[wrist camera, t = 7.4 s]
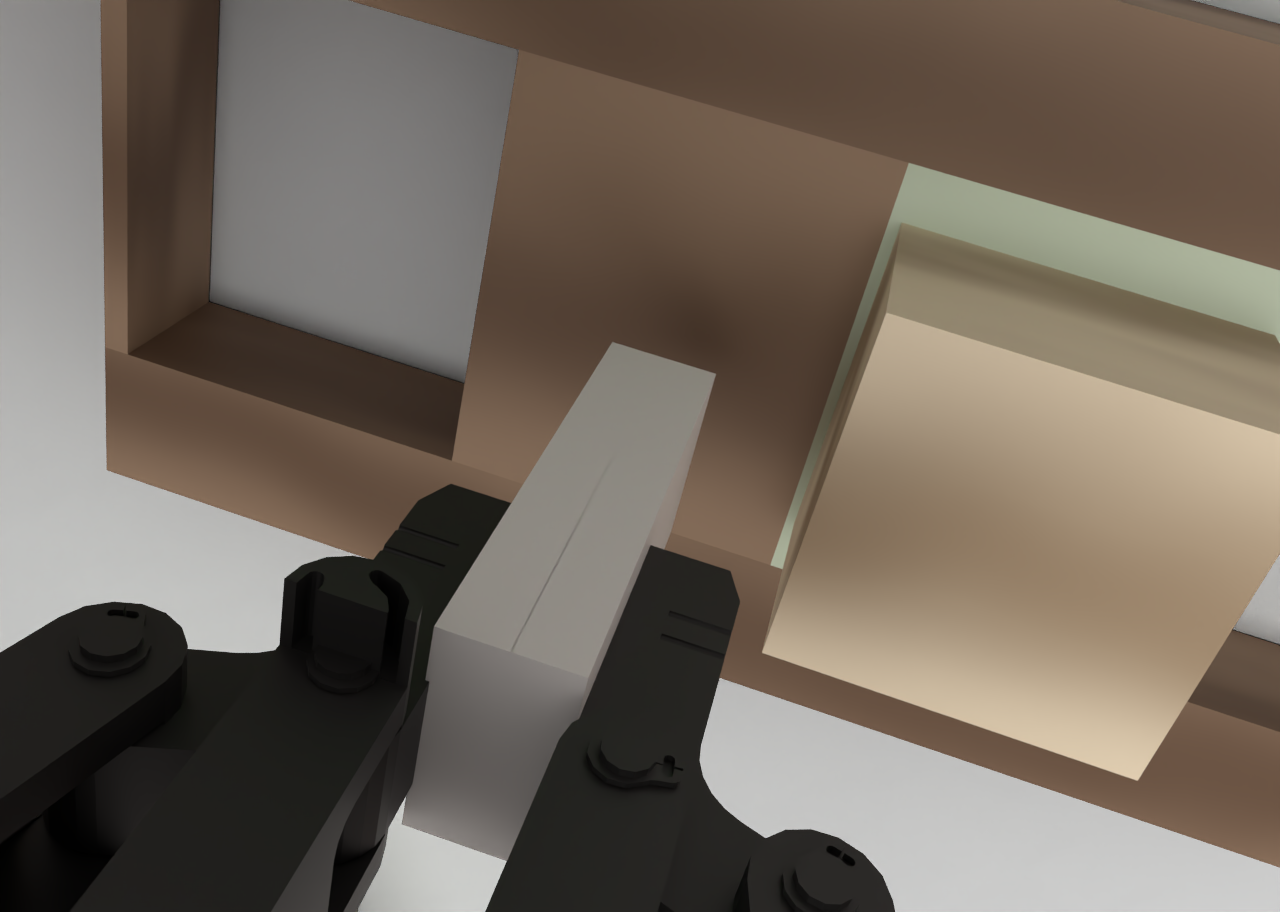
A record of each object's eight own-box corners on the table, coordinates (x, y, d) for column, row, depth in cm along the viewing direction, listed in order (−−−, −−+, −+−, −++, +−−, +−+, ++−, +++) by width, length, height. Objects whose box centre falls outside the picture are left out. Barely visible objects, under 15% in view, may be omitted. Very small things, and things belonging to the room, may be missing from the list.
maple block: (902, 222, 19) (885, 312, 16) (1274, 335, 19) (1342, 453, 15) (794, 522, 22) (762, 652, 19) (1111, 627, 22) (1137, 781, 18)
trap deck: (203, -267, 21) (96, -277, 19) (1865, 182, 18) (2009, 243, 16) (185, 410, 28) (106, 469, 26) (1381, 806, 26) (1427, 917, 23)
